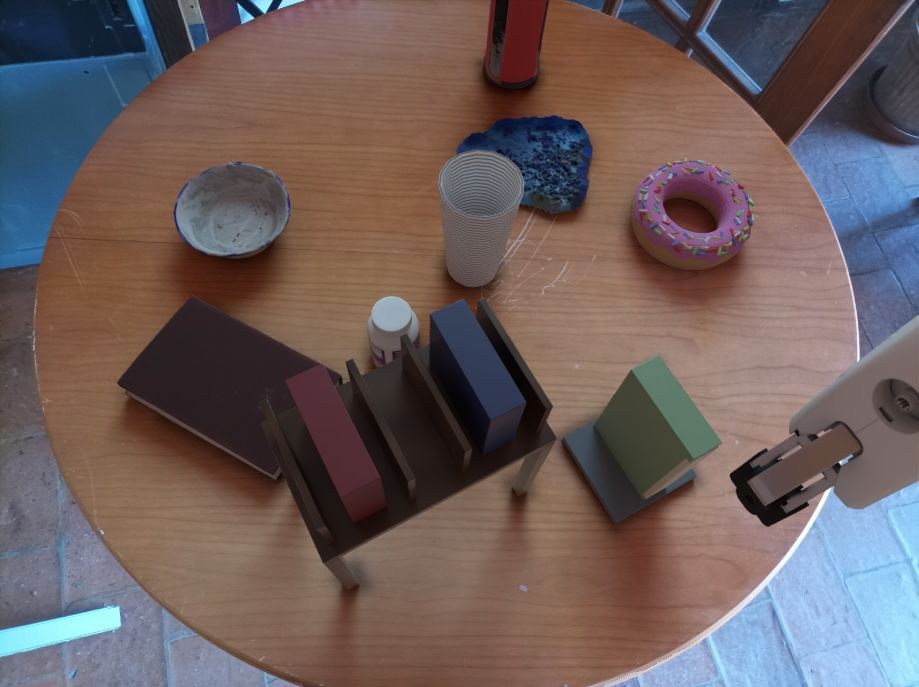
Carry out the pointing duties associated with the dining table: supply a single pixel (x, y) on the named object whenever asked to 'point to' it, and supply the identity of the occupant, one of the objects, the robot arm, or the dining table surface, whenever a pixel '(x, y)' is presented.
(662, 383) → the green book
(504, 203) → the cup
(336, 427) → the burgundy book
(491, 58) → the speaker
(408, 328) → the pill bottle
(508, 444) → the rack
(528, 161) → the rock
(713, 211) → the donut
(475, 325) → the navy book
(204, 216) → the bowl
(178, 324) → the book
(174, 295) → the dining table surface
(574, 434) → the mat
